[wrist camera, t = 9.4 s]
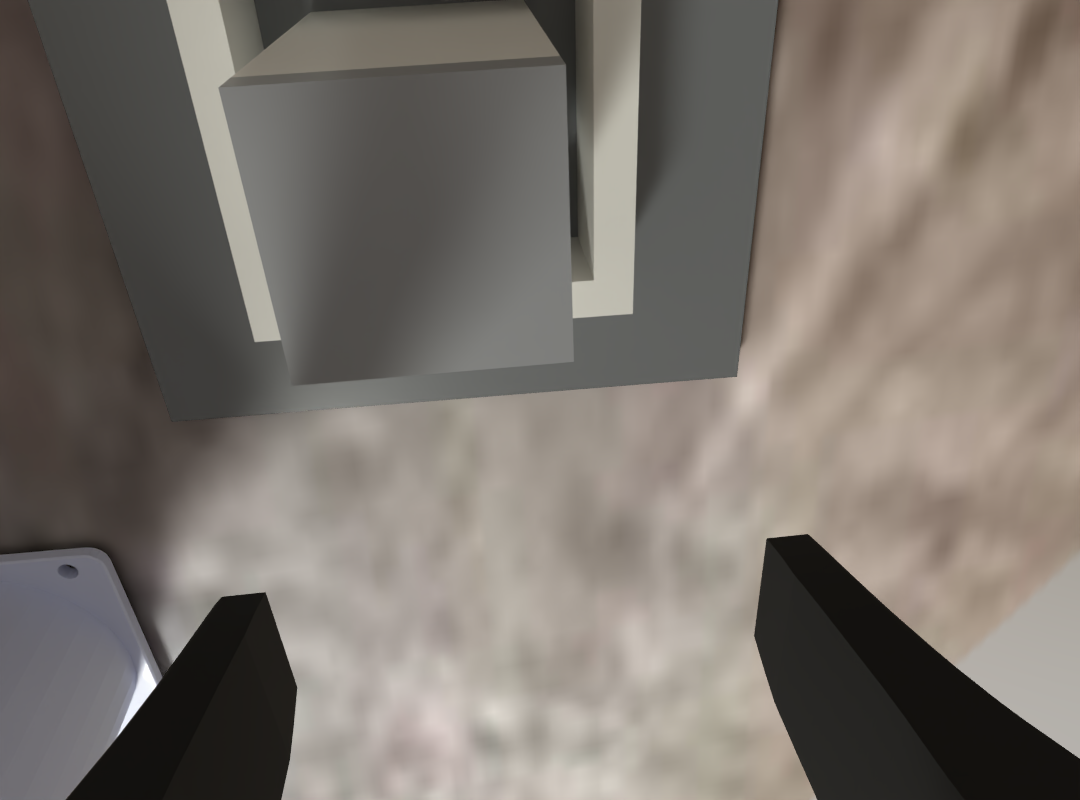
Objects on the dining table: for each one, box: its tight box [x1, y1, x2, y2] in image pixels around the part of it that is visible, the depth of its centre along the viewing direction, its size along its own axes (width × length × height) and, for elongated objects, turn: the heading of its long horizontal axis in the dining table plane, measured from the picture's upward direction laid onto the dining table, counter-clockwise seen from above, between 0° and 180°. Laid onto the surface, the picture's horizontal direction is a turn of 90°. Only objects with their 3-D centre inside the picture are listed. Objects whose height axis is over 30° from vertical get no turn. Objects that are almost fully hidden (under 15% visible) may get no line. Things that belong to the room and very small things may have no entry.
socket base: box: [28, 0, 778, 422], centre depth 15 cm, size 14×14×3 cm
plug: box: [218, 0, 574, 386], centre depth 13 cm, size 4×4×7 cm
